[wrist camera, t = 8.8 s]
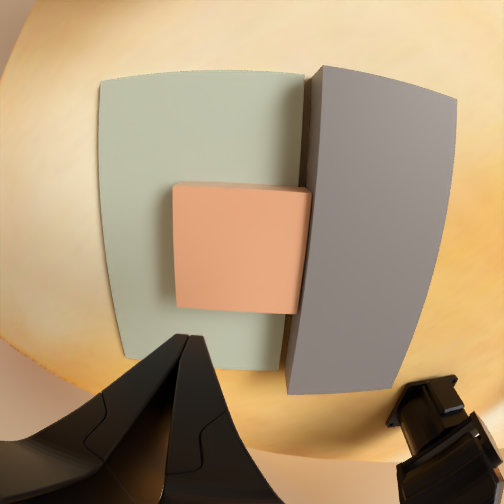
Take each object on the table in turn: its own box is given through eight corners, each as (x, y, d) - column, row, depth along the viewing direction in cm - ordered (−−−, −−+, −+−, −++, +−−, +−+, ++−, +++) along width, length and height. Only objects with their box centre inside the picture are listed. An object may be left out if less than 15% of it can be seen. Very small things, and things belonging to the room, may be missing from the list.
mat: (277, 366, 22) (278, 370, 21) (127, 353, 22) (125, 357, 21) (303, 76, 15) (304, 74, 14) (104, 82, 15) (101, 81, 14)
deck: (379, 363, 22) (391, 388, 19) (284, 366, 22) (287, 394, 19) (430, 102, 15) (457, 99, 12) (311, 77, 15) (322, 65, 12)
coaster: (292, 297, 19) (296, 314, 17) (183, 290, 19) (176, 307, 17) (305, 187, 17) (312, 193, 15) (181, 180, 16) (172, 186, 15)
